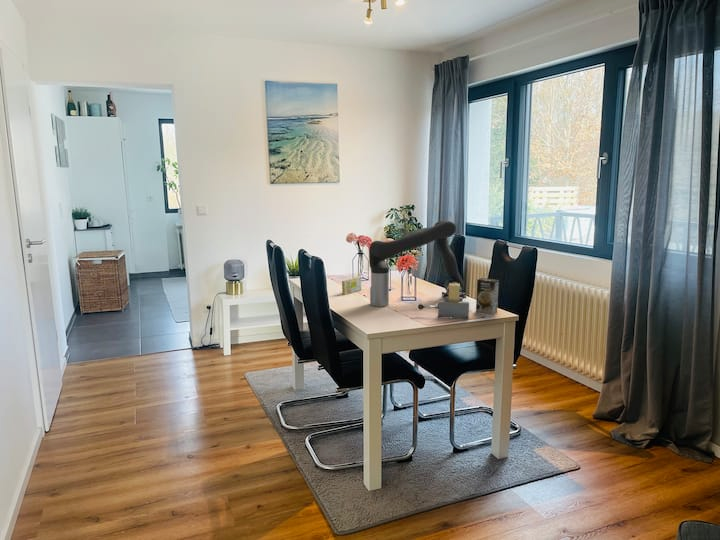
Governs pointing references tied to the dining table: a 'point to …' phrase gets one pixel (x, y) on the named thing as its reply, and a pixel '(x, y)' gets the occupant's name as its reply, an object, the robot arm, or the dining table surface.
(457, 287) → the brass block
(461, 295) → the robot arm
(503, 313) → the dining table surface
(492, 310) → the coffee box
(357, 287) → the candy box
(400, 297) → the dining table surface
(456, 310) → the vise
